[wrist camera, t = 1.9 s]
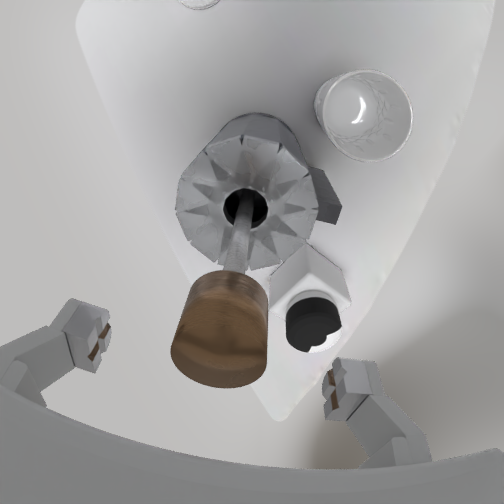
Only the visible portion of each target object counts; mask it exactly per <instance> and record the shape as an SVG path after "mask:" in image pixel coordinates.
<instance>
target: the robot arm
mask: <svg viewBox="0 0 504 504" xmlns="http://www.w3.org/2000/svg"><path fill="white" fill-rule="evenodd" d="M109 318H110V315H109V311H108V310H107V309H104V308H100V307H98V306H95V305H91V304H88V303H85V302H82V301H79V300H76V299H73V298H71V299H69V300H68V301H67V303H66V304H65V305H64V307H63V308H62V309H61V311H60V312H59V314H58V315H57V316H56V318H55V319H54V321H53V322H52V324H51V325H50V326H49V327H48V326H44V327H42V328H40V329H38V330H36V331H33V332H31V333H29V334H27V335H25V336H22V337H20V338H18V339H16V340H14V341H12V342H9V343H7V344H5V345H3V346H1V347H0V504H504V453H503V452H502V451H501V450H500V449H497V448H493V449H489V450H485V451H481V452H477V453H473V454H468V455H464V456H459V457H454V458H449V459H444V460H438V461H432V458H431V454H430V450H429V446H428V442H427V438H426V435H425V434H424V432H423V431H422V430H421V429H420V428H419V427H418V426H417V425H416V424H415V423H414V422H413V421H412V420H411V419H410V418H409V417H408V416H407V415H406V414H405V413H404V412H403V410H401V408H400V407H398V405H397V404H396V403H395V402H394V401H393V400H392V399H391V398H390V397H389V396H385V393H384V390H383V385H382V382H381V379H380V375H379V371H378V367H377V364H376V363H375V361H367V360H357V359H348V358H339V357H338V358H336V359H335V360H334V362H333V363H332V366H333V369H331V370H329V371H328V372H327V373H326V375H325V377H324V380H323V384H322V394H323V396H324V397H325V399H326V400H327V401H326V402H325V404H324V413H325V420H334V421H346V424H347V425H348V427H349V428H350V429H351V431H352V432H353V434H354V435H355V437H356V438H357V440H358V441H359V443H360V444H361V446H362V447H363V449H364V450H365V452H366V453H367V454H368V456H369V457H370V458H369V459H367V460H366V461H365V462H364V463H362V464H361V465H360V466H359V469H338V470H337V469H336V470H329V469H328V470H327V469H326V470H325V469H293V468H279V467H267V466H257V465H249V464H241V463H233V462H227V461H221V460H215V459H208V458H203V457H198V456H193V455H188V454H184V453H179V452H175V451H171V450H166V449H162V448H158V447H154V446H151V445H147V444H143V443H140V442H136V441H133V440H130V439H127V438H123V437H120V436H117V435H114V434H111V433H108V432H105V431H102V430H99V429H97V428H94V427H91V426H89V425H86V424H83V423H81V422H78V421H76V420H73V419H71V418H68V417H66V416H64V415H61V414H59V413H57V412H54V411H52V410H50V409H48V408H46V406H47V405H46V402H45V401H44V399H43V397H42V395H41V393H40V392H41V391H42V390H43V389H45V388H46V387H48V386H49V385H51V384H52V383H53V382H55V381H57V380H58V379H59V378H61V377H62V376H64V375H65V374H66V373H68V372H70V371H71V370H72V369H74V367H77V368H80V369H83V370H86V371H89V372H92V373H96V371H97V368H98V366H99V364H100V362H101V360H102V359H101V353H103V352H105V351H106V350H107V348H108V346H109V343H110V339H111V326H110V325H109V324H108V320H109Z"/></svg>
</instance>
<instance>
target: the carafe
mask: <svg viewBox="0 0 504 504" xmlns="http://www.w3.org/2000/svg"><path fill="white" fill-rule="evenodd" d="M242 188H247V189H251V190H256V191H257V192H258V193H260V194H261V195H262V196H263V197H264V198H265V200H266V203H267V206H268V208H267V212H266V214H265V215H264V216H263V217H262V218H261V219H260V220H259V221H256V222H252V223H251V230H250V238H249V245H248V253H247V260H246V268H245V270H248V266H250V269H251V271H252V270H256V269H260V268H264V267H269V266H273V265H277V264H281V262H280V259H281V260H282V261H283V262H285V261H286V260H287V259H288V258H289V257H290V256H292V255H293V254H294V253H295V252H296V251H297V250H299V249H300V248H301V247H302V246H303V245H304V244H306V243H307V242H306V239H309V237H310V234H311V232H312V229H313V226H314V223H315V220H319V221H323V222H327V223H331V224H335V225H336V223H337V220H338V217H339V214H340V211H341V209H342V205H341V203H340V201H339V199H338V197H337V195H336V193H335V192H334V190H333V188H332V186H331V184H330V182H329V180H328V179H327V177H326V175H325V173H324V171H323V170H320V169H317V168H313V167H309V166H307V164H306V162H305V159H304V157H303V155H302V152H301V150H300V147H299V145H298V143H297V140H296V138H295V136H294V134H293V132H292V131H291V129H290V128H289V127H288V126H287V125H286V124H285V123H284V122H282V121H281V120H279V119H278V118H276V117H274V116H271V115H268V114H263V113H248V114H244V115H241V116H238V117H236V118H234V119H233V120H231V121H230V122H228V123H227V124H226V125H225V126H224V127H223V128H222V129H221V131H220V132H219V133H218V134H217V135H216V136H215V137H214V139H213V140H212V141H211V142H210V143H209V144H208V145H207V146H206V147H205V148H204V149H203V150H202V151H201V152H200V154H199V155H198V156H197V157H196V158H195V159H194V161H193V162H192V163H191V164H190V165H189V166H188V168H187V169H186V170H185V171H184V172H183V174H182V175H181V178H180V179H179V183H178V191H177V199H176V207H175V210H178V211H177V213H176V216H177V218H178V220H179V222H180V225H181V227H182V229H183V231H184V234H185V236H186V238H187V240H188V241H190V240H192V241H191V243H190V244H191V245H192V246H193V247H195V248H196V249H197V250H198V251H200V252H201V253H202V254H204V255H205V256H206V257H207V258H209V259H210V260H211V261H213V262H215V261H216V260H217V259H218V258H219V259H218V264H219V265H224V264H225V259H226V255H227V251H228V247H229V243H230V239H231V235H232V230H233V226H234V222H235V219H234V218H232V217H231V216H230V215H229V214H228V212H227V209H226V206H225V201H226V198H227V197H228V196H229V195H230V194H231V193H232V191H235V190H239V189H242Z"/></svg>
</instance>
